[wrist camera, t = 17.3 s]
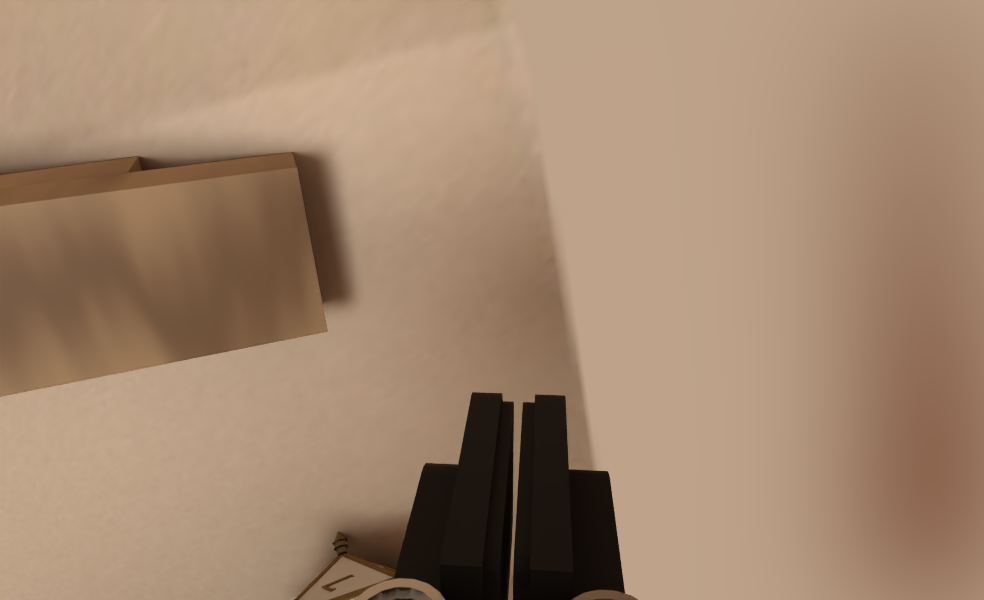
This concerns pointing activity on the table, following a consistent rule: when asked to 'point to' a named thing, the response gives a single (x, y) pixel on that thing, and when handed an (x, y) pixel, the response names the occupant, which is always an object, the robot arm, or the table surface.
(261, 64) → the table surface
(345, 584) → the game die
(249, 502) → the table surface
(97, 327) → the domino
